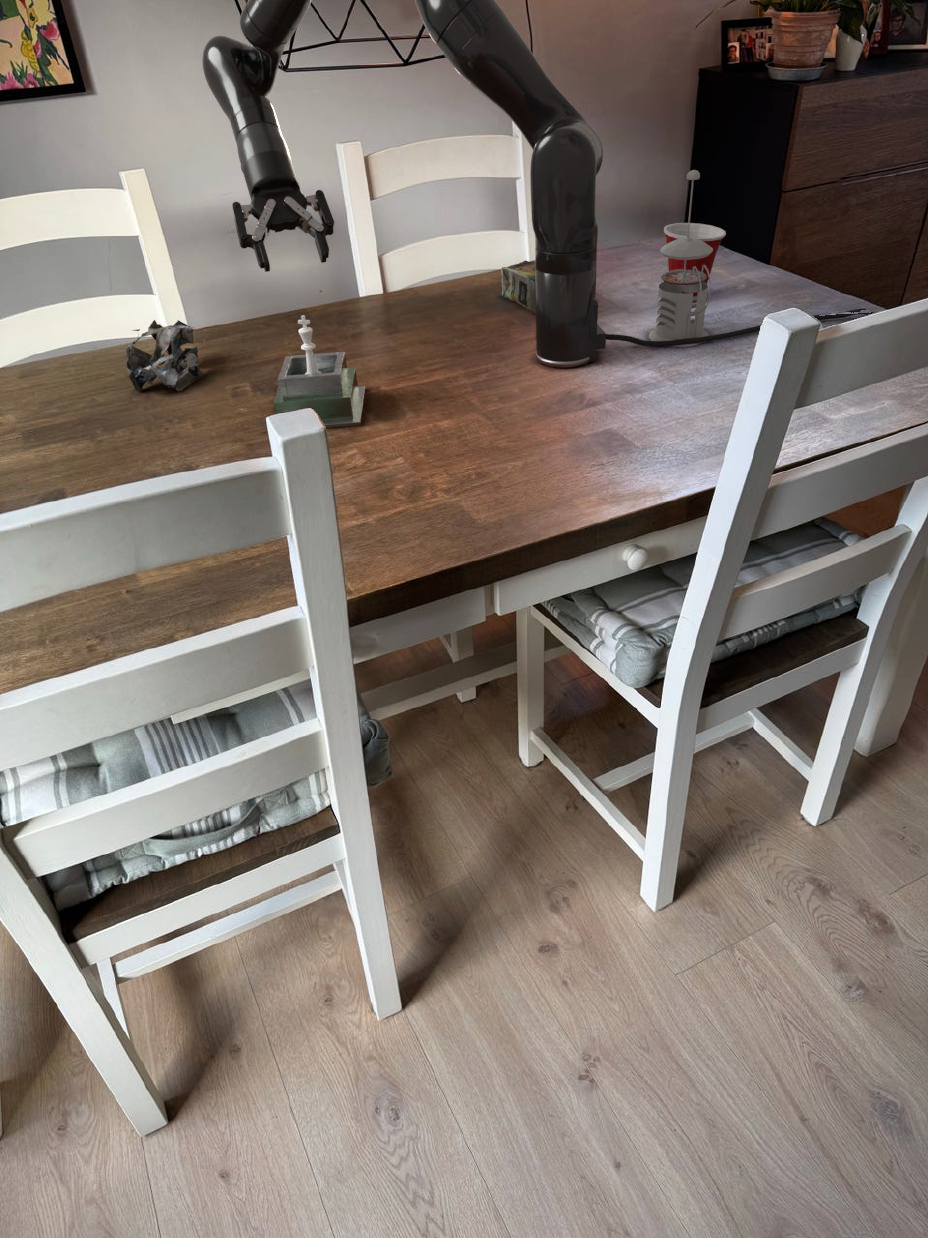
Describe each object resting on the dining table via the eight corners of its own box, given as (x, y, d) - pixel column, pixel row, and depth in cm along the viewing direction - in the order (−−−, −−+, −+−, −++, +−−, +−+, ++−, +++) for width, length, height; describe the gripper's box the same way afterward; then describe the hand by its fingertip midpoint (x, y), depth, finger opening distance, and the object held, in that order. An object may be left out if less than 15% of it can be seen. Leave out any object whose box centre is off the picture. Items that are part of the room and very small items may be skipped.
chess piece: (325, 391, 123) (313, 321, 117) (293, 390, 124) (280, 321, 118) (336, 377, 127) (325, 309, 121) (305, 377, 128) (292, 309, 122)
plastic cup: (724, 305, 153) (733, 233, 146) (663, 308, 154) (669, 237, 146) (711, 286, 162) (719, 218, 154) (653, 289, 162) (658, 222, 155)
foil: (99, 369, 138) (148, 295, 140) (147, 409, 147) (193, 339, 149) (140, 381, 131) (191, 303, 134) (188, 422, 140) (235, 348, 143)
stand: (365, 389, 133) (359, 345, 129) (360, 425, 123) (353, 378, 118) (282, 395, 133) (273, 351, 129) (270, 432, 123) (260, 385, 119)
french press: (689, 322, 147) (705, 160, 132) (726, 343, 139) (748, 173, 123) (638, 331, 145) (648, 168, 130) (672, 354, 136) (687, 182, 121)
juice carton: (496, 294, 165) (495, 261, 162) (540, 285, 169) (540, 253, 165) (550, 324, 151) (551, 289, 147) (597, 314, 154) (599, 279, 150)
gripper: (217, 154, 123) (247, 257, 121) (314, 142, 126) (344, 241, 125) (221, 188, 130) (249, 285, 129) (312, 175, 134) (341, 270, 132)
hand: (296, 263), depth 127 cm, fingers open, 8 cm apart
